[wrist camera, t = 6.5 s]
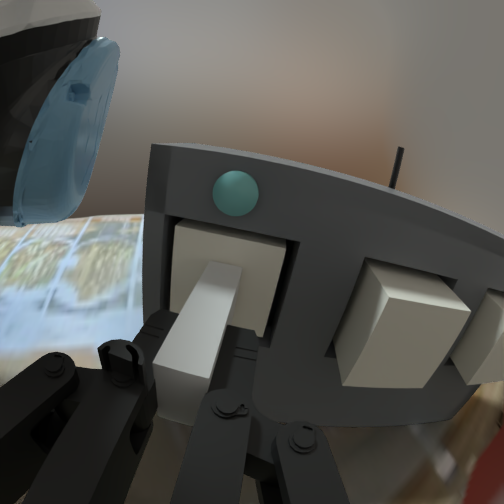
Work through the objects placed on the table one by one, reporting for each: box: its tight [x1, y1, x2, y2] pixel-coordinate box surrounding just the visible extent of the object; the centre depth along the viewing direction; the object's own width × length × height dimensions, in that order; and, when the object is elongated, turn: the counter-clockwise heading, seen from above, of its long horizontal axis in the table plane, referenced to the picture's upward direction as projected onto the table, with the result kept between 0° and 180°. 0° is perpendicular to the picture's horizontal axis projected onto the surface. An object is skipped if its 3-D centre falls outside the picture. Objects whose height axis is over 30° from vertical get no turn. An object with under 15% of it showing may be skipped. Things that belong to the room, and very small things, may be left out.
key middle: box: [333, 257, 471, 388], centre depth 12 cm, size 4×5×5 cm
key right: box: [450, 288, 504, 385], centre depth 12 cm, size 4×5×5 cm
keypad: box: [142, 143, 504, 427], centre depth 16 cm, size 6×26×16 cm, turn 84°
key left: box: [170, 218, 286, 337], centre depth 15 cm, size 4×5×5 cm
